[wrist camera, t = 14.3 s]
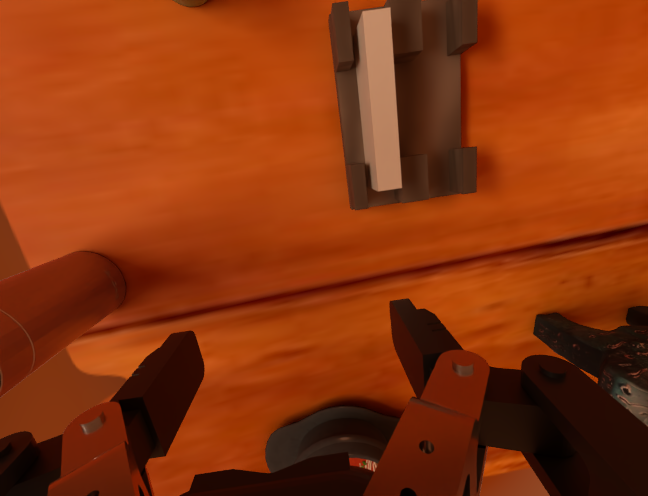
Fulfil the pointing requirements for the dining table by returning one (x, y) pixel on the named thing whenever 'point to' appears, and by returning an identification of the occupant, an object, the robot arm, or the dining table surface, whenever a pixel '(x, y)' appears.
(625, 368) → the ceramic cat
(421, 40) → the dark grey holder
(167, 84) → the dining table surface
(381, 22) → the clay strip
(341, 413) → the casserole
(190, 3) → the plant pot
